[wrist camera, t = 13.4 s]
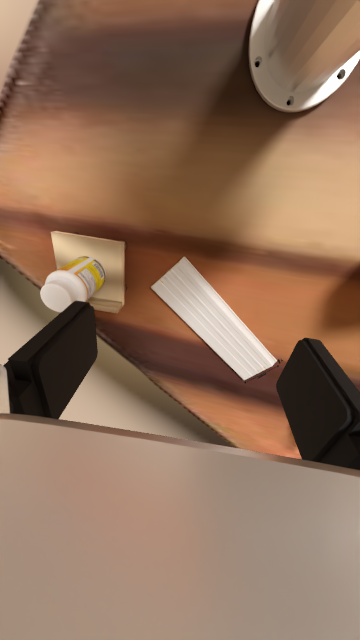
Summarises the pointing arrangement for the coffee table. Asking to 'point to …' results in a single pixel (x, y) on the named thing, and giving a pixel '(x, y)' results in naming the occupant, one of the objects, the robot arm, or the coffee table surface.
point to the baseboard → (213, 319)
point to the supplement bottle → (73, 283)
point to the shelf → (106, 254)
